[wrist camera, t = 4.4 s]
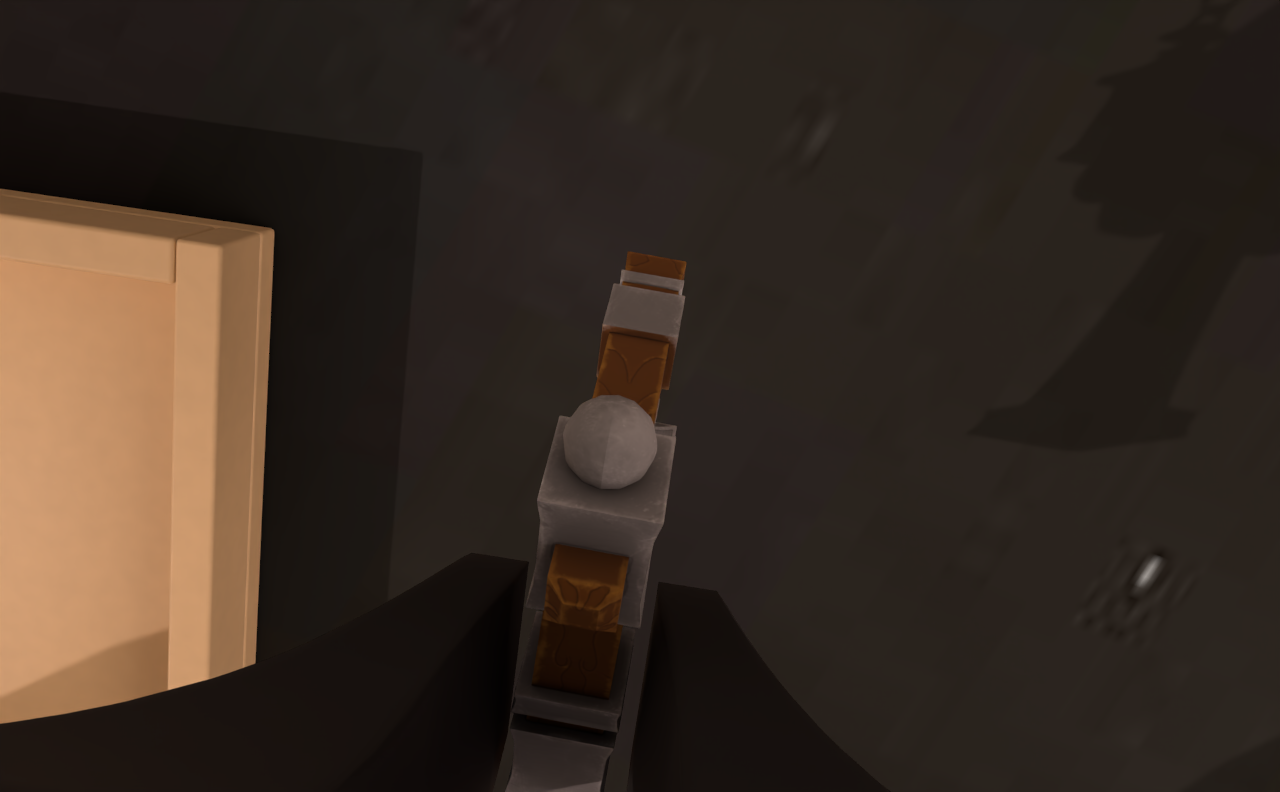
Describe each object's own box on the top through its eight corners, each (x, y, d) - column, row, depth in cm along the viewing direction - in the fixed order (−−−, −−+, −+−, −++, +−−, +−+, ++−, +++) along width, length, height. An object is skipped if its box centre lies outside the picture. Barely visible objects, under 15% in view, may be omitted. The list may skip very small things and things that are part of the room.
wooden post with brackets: (758, 194, 11) (730, 506, 7) (651, 689, 16) (604, 1018, 12) (578, 162, 11) (465, 458, 7) (528, 666, 16) (445, 987, 12)
